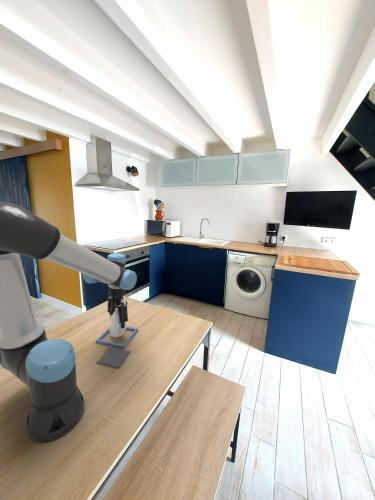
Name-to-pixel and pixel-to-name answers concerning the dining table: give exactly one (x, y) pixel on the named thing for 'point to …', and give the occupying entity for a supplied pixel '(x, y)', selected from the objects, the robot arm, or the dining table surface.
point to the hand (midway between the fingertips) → (117, 329)
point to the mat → (113, 357)
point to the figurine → (115, 324)
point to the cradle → (100, 341)
